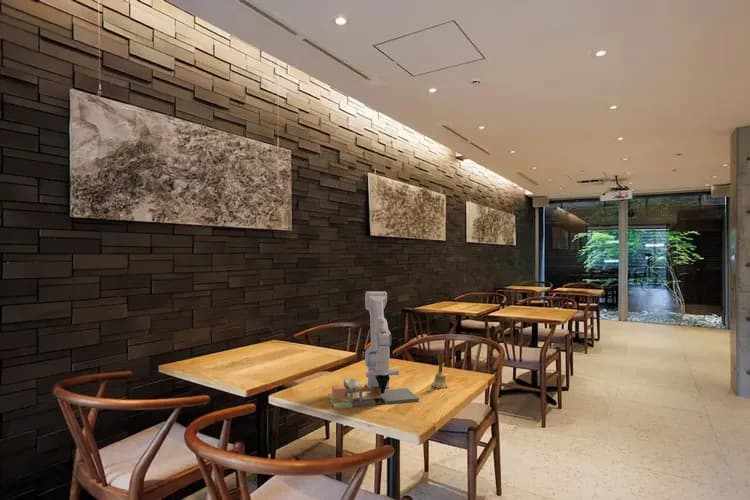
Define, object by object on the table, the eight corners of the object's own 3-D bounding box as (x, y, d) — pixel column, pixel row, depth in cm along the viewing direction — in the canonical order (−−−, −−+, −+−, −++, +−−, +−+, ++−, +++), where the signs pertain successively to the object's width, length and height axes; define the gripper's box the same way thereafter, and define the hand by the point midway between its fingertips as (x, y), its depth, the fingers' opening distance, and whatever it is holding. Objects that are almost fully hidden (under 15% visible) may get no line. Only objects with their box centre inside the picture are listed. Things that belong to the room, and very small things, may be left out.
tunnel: (354, 392, 183) (355, 378, 183) (362, 402, 172) (362, 387, 172) (343, 393, 182) (343, 379, 182) (350, 403, 170) (350, 388, 170)
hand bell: (450, 384, 202) (450, 350, 202) (447, 389, 194) (447, 354, 195) (432, 382, 205) (433, 349, 205) (429, 387, 197) (430, 353, 197)
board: (406, 390, 192) (406, 388, 192) (418, 401, 178) (418, 398, 178) (328, 397, 181) (328, 394, 181) (334, 408, 168) (334, 405, 168)
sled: (376, 392, 184) (376, 384, 184) (381, 398, 177) (381, 389, 177) (331, 396, 178) (331, 387, 178) (334, 402, 171) (334, 393, 171)
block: (342, 394, 178) (342, 385, 178) (345, 398, 174) (345, 388, 174) (332, 395, 177) (332, 385, 177) (334, 399, 172) (334, 389, 172)
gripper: (369, 364, 175) (368, 397, 175) (401, 362, 179) (401, 394, 179) (364, 360, 182) (363, 391, 182) (396, 358, 186) (395, 389, 186)
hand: (382, 392), depth 181 cm, fingers closed
